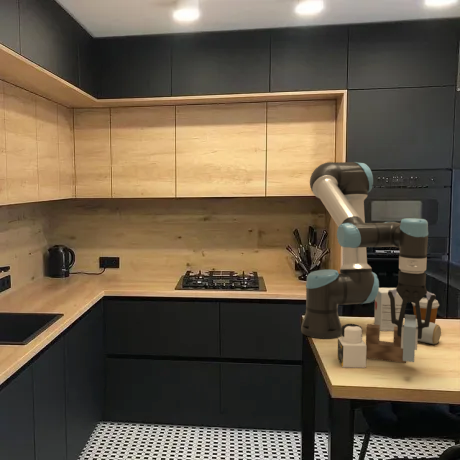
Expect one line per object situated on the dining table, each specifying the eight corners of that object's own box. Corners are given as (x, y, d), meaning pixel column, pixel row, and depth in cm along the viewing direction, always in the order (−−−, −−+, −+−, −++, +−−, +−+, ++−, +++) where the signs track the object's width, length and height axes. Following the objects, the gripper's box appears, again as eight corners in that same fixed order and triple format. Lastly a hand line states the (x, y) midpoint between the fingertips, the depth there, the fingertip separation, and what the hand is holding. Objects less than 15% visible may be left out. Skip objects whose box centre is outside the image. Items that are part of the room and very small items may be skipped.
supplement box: (373, 324, 180) (374, 287, 179) (396, 324, 179) (397, 287, 178) (379, 331, 171) (380, 292, 170) (403, 331, 170) (404, 292, 169)
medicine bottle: (337, 359, 142) (338, 322, 141) (360, 359, 142) (360, 322, 141) (342, 367, 135) (343, 328, 134) (366, 368, 135) (367, 329, 134)
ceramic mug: (434, 347, 152) (435, 325, 152) (410, 342, 158) (411, 320, 157) (444, 340, 160) (445, 319, 160) (421, 335, 166) (421, 315, 165)
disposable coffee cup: (405, 328, 174) (406, 298, 173) (427, 326, 176) (428, 296, 175) (421, 336, 165) (422, 303, 164) (444, 334, 167) (445, 302, 166)
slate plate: (402, 360, 126) (404, 326, 125) (403, 346, 137) (405, 314, 136) (414, 362, 125) (415, 327, 124) (414, 347, 136) (415, 315, 135)
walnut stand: (365, 357, 143) (366, 327, 142) (366, 353, 147) (367, 323, 146) (406, 363, 138) (406, 331, 138) (406, 358, 142) (407, 327, 141)
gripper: (382, 271, 132) (379, 348, 135) (443, 275, 126) (439, 356, 128) (384, 266, 139) (381, 340, 141) (441, 270, 133) (437, 347, 135)
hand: (408, 347), depth 135 cm, fingers closed on slate plate, 3 cm apart
